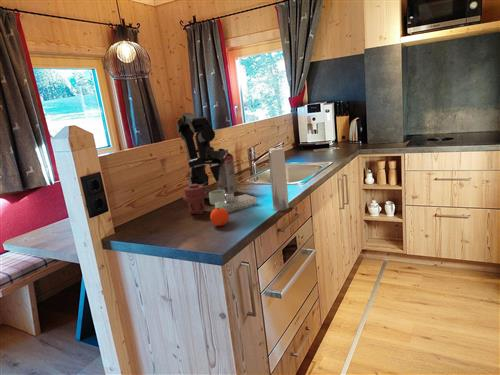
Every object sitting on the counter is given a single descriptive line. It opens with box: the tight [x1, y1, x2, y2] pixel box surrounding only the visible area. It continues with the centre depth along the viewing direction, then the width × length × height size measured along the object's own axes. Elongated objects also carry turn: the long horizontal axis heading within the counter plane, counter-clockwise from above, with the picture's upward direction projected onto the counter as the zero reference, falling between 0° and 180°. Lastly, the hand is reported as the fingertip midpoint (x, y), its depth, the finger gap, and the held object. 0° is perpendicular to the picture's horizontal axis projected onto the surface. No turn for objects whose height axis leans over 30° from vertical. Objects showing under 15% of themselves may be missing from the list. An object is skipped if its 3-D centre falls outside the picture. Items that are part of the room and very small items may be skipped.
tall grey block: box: [267, 147, 290, 212], centre depth 146 cm, size 6×6×25 cm
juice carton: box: [216, 149, 238, 193], centre depth 181 cm, size 7×7×22 cm
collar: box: [208, 189, 225, 206], centre depth 167 cm, size 8×8×5 cm
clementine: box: [209, 207, 229, 227], centre depth 136 cm, size 8×7×7 cm
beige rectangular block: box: [214, 192, 258, 213], centre depth 157 cm, size 9×16×6 cm, turn 123°
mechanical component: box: [182, 184, 208, 215], centre depth 154 cm, size 12×10×10 cm
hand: (211, 181), depth 153 cm, fingers open, 9 cm apart
